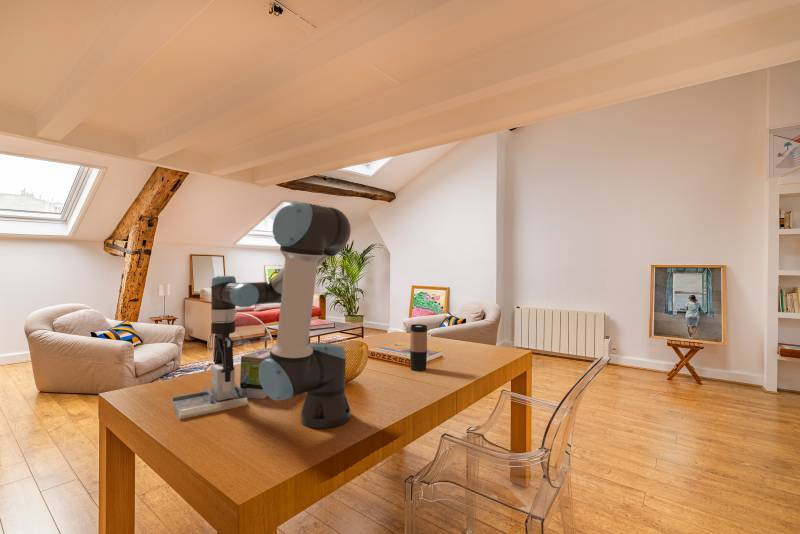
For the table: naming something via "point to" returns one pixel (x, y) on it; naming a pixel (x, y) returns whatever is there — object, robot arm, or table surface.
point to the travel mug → (418, 347)
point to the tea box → (252, 373)
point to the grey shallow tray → (205, 403)
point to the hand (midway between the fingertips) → (222, 387)
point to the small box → (218, 383)
